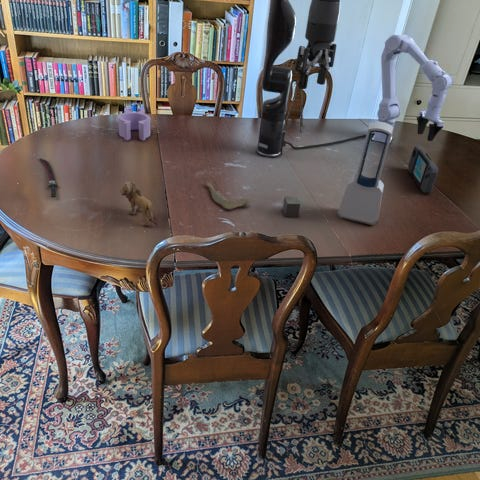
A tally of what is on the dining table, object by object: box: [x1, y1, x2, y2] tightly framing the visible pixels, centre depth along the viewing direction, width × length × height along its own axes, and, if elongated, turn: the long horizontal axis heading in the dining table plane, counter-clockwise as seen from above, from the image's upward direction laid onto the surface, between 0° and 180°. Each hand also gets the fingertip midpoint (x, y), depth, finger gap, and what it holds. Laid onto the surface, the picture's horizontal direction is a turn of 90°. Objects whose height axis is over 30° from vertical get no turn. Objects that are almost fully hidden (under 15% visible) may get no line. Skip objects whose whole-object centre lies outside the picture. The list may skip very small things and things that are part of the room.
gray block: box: [282, 196, 301, 218], centre depth 145 cm, size 4×4×5 cm
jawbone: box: [205, 181, 254, 211], centre depth 149 cm, size 9×20×2 cm, turn 50°
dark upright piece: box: [284, 66, 305, 132], centre depth 206 cm, size 9×8×30 cm
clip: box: [117, 106, 151, 142], centre depth 190 cm, size 20×12×7 cm, turn 11°
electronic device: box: [337, 121, 394, 226], centre depth 139 cm, size 12×8×30 cm, turn 71°
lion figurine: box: [119, 181, 159, 227], centre depth 134 cm, size 15×5×9 cm, turn 50°
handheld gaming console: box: [407, 145, 439, 195], centre depth 173 cm, size 23×3×10 cm, turn 178°
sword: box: [40, 158, 59, 198], centre depth 151 cm, size 31×3×1 cm, turn 26°
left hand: (311, 86), depth 125 cm, fingers open, 8 cm apart
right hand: (424, 137), depth 197 cm, fingers open, 7 cm apart
